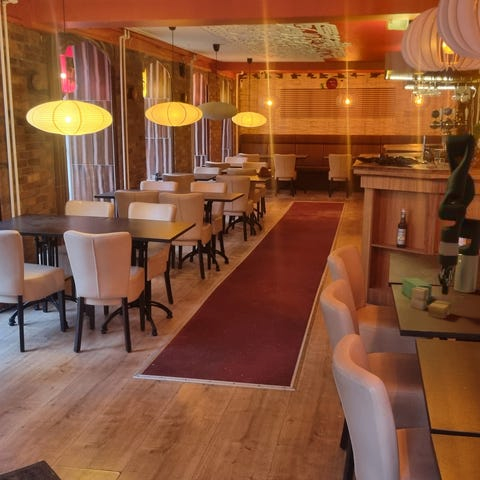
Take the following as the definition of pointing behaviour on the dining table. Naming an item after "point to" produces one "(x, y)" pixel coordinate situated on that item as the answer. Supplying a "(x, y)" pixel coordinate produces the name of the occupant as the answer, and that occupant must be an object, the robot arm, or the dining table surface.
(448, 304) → the oak pillar
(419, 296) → the birch pillar
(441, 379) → the dining table surface
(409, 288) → the box
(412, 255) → the dining table surface
